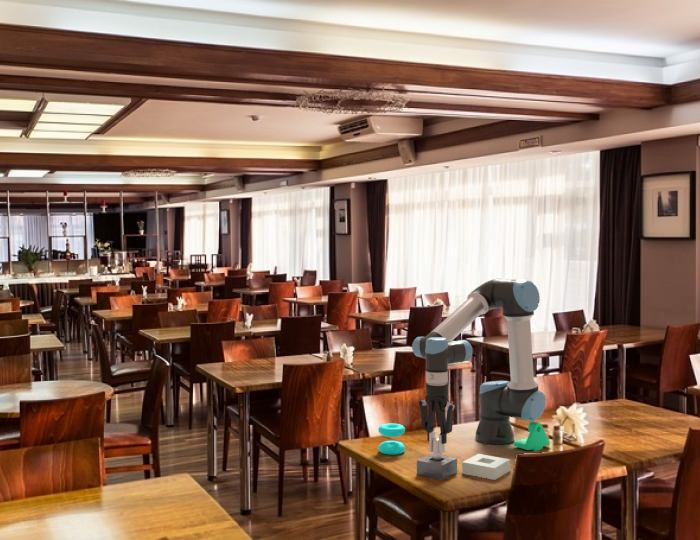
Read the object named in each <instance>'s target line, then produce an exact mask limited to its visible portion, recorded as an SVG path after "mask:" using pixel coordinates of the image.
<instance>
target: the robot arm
mask: <svg viewBox="0 0 700 540" xmlns="http://www.w3.org/2000/svg"><path fill="white" fill-rule="evenodd" d="M540 298H541V297H540V293H539V289H538V287H537V285H535V284H534V282H532V281H530V280H527V279H522V278H494V279H490V280H488V281H486V282H484V283H482V284H481V285H479V286H477V287H476V288H475V289H473V290H471V292H470V293H469V294H468V295H467V298H466V300H465V301H464V302H463V303H462V304H461V305H459V306H458V307H457V308H456V309H455V310H454V311H453V312H452V313H450V314H449V315H448V316H447V317H446V318H445V319H444V320H443V321H441V323H439V324H438V325H437V326H436V327H435V328H434V329H432V330H431V332H430V333H428V334H427V335H426V336H417V337H416V338H415V339H414V340H413V342H412V344H411V348H412V349H411V350H412V352H413V354H414V355H415V356H416V357H419V358H422V359H425V383H426V384H425V397H424V399H422V400H419V401H418V405H419V408H420V418H421V429H422V430H423V431H426V432H427V435H426V436H427V439H426V440H427V442H428V443H429V445H428V446H429V448H428V449H429V451H428V452H429V453H433V438H436V431H434V430H435V428H434V426H435V419H436V414H437V415H438V416H437V417H438V421H439V422H438V423H439V429H440V433H438V438H439V454H441V455H443V453H446V451H445V450H446V449H445V448H446V447H445V445H446V444H447V441H448V440H447V438H448V437H447V435H448V434H450V433H452V432H453V423H454V412H455V409H456V406H457V405H456V404H454V403H453V404H452V403H451V402H450V401H449V398H448V396H449V385H448V383H449V365H451V364H452V365H453V364H458V363H464V362H467V361H469V360H471V358H472V356H473V346H472V345H471V343H470V342H469V341H468V340H466V339H462V340H461V339H458V340H455V339H456V338H457V337H458V336H459V335H460V334H461V333H462V332H463V331H465V329H466V328H468V326H470V325H471V324H472V323H474V321H475V320H476V319H478V317H479V316H480V315H484V314H486V313H488V312H489V311H491V310H495V309H498V310H501V311H502V317H503V318H505V319H506V324H507V326H506V327H507V340H508V341H507V342H508V353H509V355H508V356H509V372H510V374H509V375H510V381H508V380H492V381H486V382H483V383H481V384H480V387H479V393H478V394H479V422H478V424H477V427H476V431H475V440H476V441H478V442H479V443H484V444H489V445H490V444H491V445H505V444H511V443H514V441H515V434H514V430H513V427H512V424H511V418H513V419H519V420H522V421H528V422H529V421H530V422H536V421H537V420H538V419H539V418H541V416H542V415H543V413H544V412H545V410H546V409H545V407H546V401H547V399H546V395H545V393H544V392H543V391H541V390H539V383H538V382H537V381H535V378H534V376H535V375H534V363H533V345H532V330H531V318H532V317H534V315H535V312H534V311H536V310H537V309H538V307H539V304H540V301H541V299H540ZM446 409H447V411H446Z"/></svg>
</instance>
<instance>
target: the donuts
mask: <svg viewBox="0 0 700 540" xmlns="http://www.w3.org/2000/svg"><path fill="white" fill-rule="evenodd" d="M405 432H406V427H405V426H404V425H402V424H400V423H394V422H393V423H383V424H381V425H379V427H378V433H379V434H380V435H382V436H384V437H387V438H397V437H400V436H402V435H404V433H405ZM378 450H379V452H380V453H381V454H384V455H388V456H394V455H395V456H396V455H397V456H398V455H400V454H402V453H403V454H404V452H405V450H406V446H405V445H404V444H403V442H401V441H398V440H386V441H383V442H381V443H380V444H379V445H378Z"/></svg>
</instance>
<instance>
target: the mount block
mask: <svg viewBox="0 0 700 540" xmlns="http://www.w3.org/2000/svg"><path fill="white" fill-rule="evenodd" d="M457 473H458V458H457V457H453V456H449V455H443V454H441V461H440V462H437V461H433V452H430V453H429V454H427V455H425V456H423V457H421V458H419V459H416V476H420V477H425V478H429V479H430V478H431V479H435V480H439V481H444V480H446V479H448V478H450V477H452V476H453V475H456V474H457Z"/></svg>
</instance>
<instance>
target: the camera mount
mask: <svg viewBox="0 0 700 540" xmlns="http://www.w3.org/2000/svg"><path fill="white" fill-rule="evenodd" d="M527 426H528V427H527V429H528V432H529V433H528V436H527V437H526V438H522V439H518V440H514V441H513V447H516V448H519V449H523V450H526V451H533V450H534V452H535V451H539V450H543V449H544V447H546V446H549V445H550V440H549V438H548V435H547V433H546V430H545V429H544V426H543V425H542V423H539V422H536V421H530V422H529V424H528V425H527Z"/></svg>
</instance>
